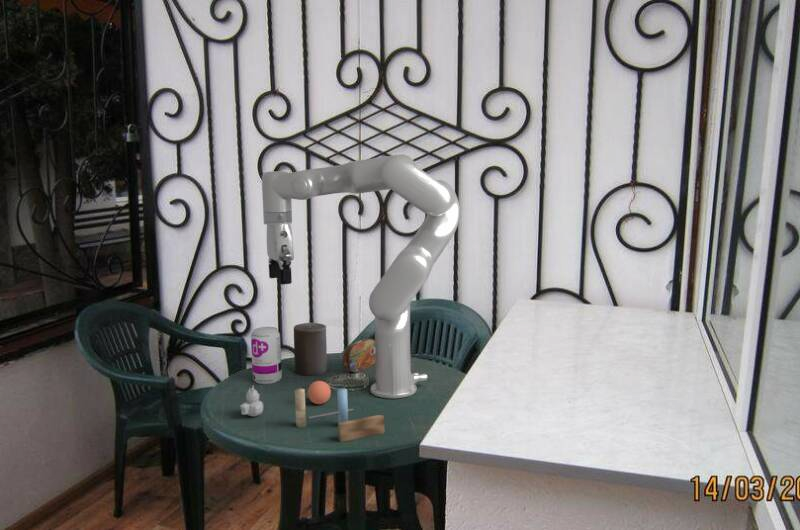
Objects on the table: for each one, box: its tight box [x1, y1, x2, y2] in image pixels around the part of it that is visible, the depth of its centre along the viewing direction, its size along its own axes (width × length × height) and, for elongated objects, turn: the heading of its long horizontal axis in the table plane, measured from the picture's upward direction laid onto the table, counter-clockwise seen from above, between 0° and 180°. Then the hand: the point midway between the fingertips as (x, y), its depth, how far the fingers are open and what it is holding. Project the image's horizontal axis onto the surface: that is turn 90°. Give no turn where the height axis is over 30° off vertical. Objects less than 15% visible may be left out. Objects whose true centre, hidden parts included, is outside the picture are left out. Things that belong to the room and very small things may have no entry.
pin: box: [336, 388, 349, 424], centre depth 173 cm, size 2×2×9 cm
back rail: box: [337, 413, 386, 443], centre depth 167 cm, size 11×2×4 cm, turn 116°
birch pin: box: [294, 388, 307, 429], centre depth 174 cm, size 2×2×9 cm
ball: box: [307, 380, 332, 405], centre depth 189 cm, size 6×6×6 cm
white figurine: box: [239, 385, 264, 417], centre depth 181 cm, size 5×7×8 cm
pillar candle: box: [293, 322, 328, 377], centre depth 215 cm, size 10×10×15 cm
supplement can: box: [250, 326, 283, 385], centre depth 207 cm, size 8×8×15 cm
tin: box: [342, 338, 376, 374], centre depth 217 cm, size 15×3×8 cm, turn 147°
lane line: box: [307, 408, 355, 420], centre depth 182 cm, size 12×1×1 cm, turn 116°
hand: (280, 280), depth 195 cm, fingers open, 9 cm apart
